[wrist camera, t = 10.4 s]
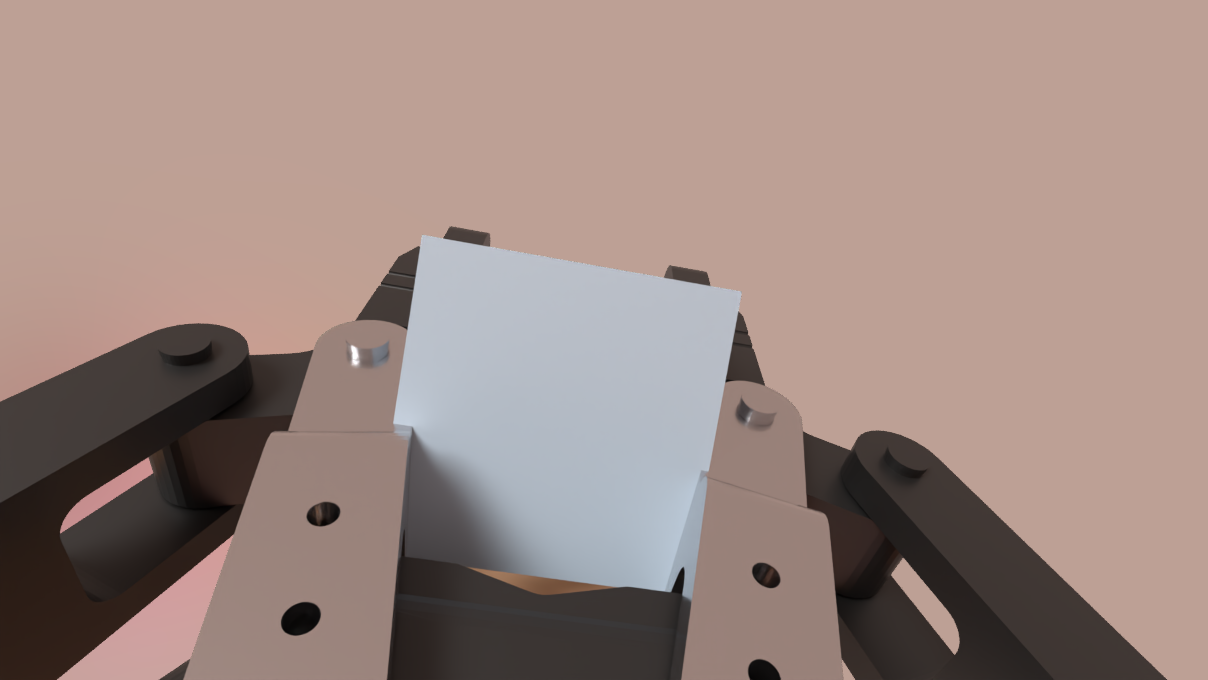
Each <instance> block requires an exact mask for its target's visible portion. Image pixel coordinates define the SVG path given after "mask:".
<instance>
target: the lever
mask: <svg viewBox="0 0 1208 680" xmlns="http://www.w3.org/2000/svg"><path fill="white" fill-rule="evenodd" d="M741 293H742V292H741V291H735V290H729V289H724V288H718V287H712V286H707V285H701V284H696V283H690V282H684V281H679V280H673V279H667V278H661V277H656V276H651V275H645V274H638V273H634V272H628V271H622V270H617V269H611V268H605V267H600V266H594V265H589V264H583V263H577V262H572V261H566V260H561V259H555V258H549V257H543V256H538V255H532V254H526V253H521V252H515V251H510V250H504V249H498V248H493V247H487V246H482V245H476V244H471V243H465V242H459V241H454V240H448V239H442V238H436V237H431V236H425V235H422V239H421V246H420V252H419V259H418V265H417V272H416V278H415V285H414V291H413V298H412V304H411V311H410V317H409V324H408V330H407V337H406V343H405V350H404V356H403V363H402V369H401V376H400V382H399V389H398V395H397V402H396V408H395V415H394V421H393V424H400V425H406V426H412V440H411V464H410V488H409V513H408V537H407V557H412V558H419V559H427V560H434V561H442V562H449V563H457V564H460V565H462V566H465V567H470V568H477V569H485V570H492V571H500V572H507V573H514V574H522V575H529V576H537V577H544V578H552V579H559V580H567V581H574V582H582V583H589V584H597V585H604V586H612V587H627V586H628V587H635V588H643V589H650V590H658V591H665V589H666V586H667V583H668V579H669V576H670V572H671V569H672V566H673V562H674V559H675V556H676V552H677V549H678V546H679V542H680V539H681V536H682V532H683V529H684V526H685V522H686V519H687V516H688V512H689V509H690V506H691V502H692V499H693V495H694V492H695V489H696V485H697V482H698V479H699V475H700V472H701V470H703V471H709V467H710V462H711V456H712V451H713V445H714V440H715V434H716V429H717V424H718V418H719V413H720V407H721V402H722V397H723V391H724V386H725V380H726V375H727V370H728V364H729V359H730V353H731V348H732V343H733V337H734V332H735V326H736V321H737V315H738V310H739V305H740V299H741Z"/></svg>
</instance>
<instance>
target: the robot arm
mask: <svg viewBox="0 0 1208 680" xmlns="http://www.w3.org/2000/svg"><path fill="white" fill-rule="evenodd" d="M443 239H448V240H454V241H459V242H465V243H471V244H476V245H482V246H487V247H490V234H489V233H485V232H479V231H473V230H468V229H463V228H457V227H452V226H451V227H450V228H449V229H448V231H447V233H446V234H445V236H444V238H443ZM419 252H420V247H419V246H418V247H416V248H414V249H412V250H411V251H409V252H407V253H405V254H403V255H401V256H399V257H398V259H397V260H396V261H395V263H394V264H393V266H392V268H391V269H390V270H389V274H387V275H386V276H385V278H384V279H383V281H382V282H381V286H378V288H377V289H376V291H375V292H374V294H373V295H372V297H371V298H370V300H369V301H368V303H367V304H366V306H365V307H364V309H363V310H362V312H361V313H360V314H359V316H358V318H357V319H356V320H355V321H352V322H347V323H344V324H340V325H338V326H335V327H333V328H331V329H329V330H328V331H326V332H325V333H324V334H322V335H321V337H320V338H319V339H318V340H317V342H316V345H315V347H314V350H311V351H307V352H301V353H292V354H270V355H249V349H248V344H247V341H246V340H245V338H244V337H243V336H242V335H241V334H240V333H238V332H236V331H235V330H233V329H230V328H227V327H224V326H220V325H213V324H199V323H198V324H184V325H177V326H172V327H167V328H164V329H160V330H157V331H155V332H152V333H150V334H147V335H145V336H143V337H141V338H138V339H136V340H134V341H132V342H130V343H127V344H125V345H123V346H121V347H119V348H117V349H114V350H112V351H110V352H108V353H106V354H103V355H101V356H99V357H97V358H95V359H93V360H90V361H88V362H86V363H84V364H82V365H79V366H77V367H75V368H73V369H71V370H69V371H66V372H64V373H62V374H60V375H58V376H55V377H53V378H51V379H49V380H47V381H45V382H42V383H40V384H38V385H36V386H34V387H31V388H29V389H27V390H25V391H23V392H21V393H19V394H16V395H14V396H12V397H10V398H7V399H5V400H3V401H1V402H0V680H57V679H58V678H59V677H61V676H62V675H63V674H64V673H65V672H67V671H68V670H69V669H70V668H71V667H73V666H74V665H75V664H76V663H78V662H79V661H80V660H81V659H83V658H84V657H85V656H86V655H87V654H89V653H90V652H91V651H92V650H94V649H95V648H96V647H97V646H98V645H99V644H101V643H102V642H103V641H104V640H106V639H107V638H108V637H109V636H110V635H112V634H113V633H114V632H115V631H116V630H118V629H119V628H120V627H122V626H123V625H124V624H125V623H126V622H128V621H129V620H130V619H131V618H132V617H134V616H135V615H136V614H137V613H139V612H140V611H141V610H142V609H143V608H145V607H146V606H147V605H148V604H150V603H151V602H152V601H153V600H154V599H156V598H157V597H158V596H159V595H160V594H162V593H163V592H164V591H165V590H167V589H168V588H169V587H170V586H171V585H173V584H174V583H175V582H176V581H177V580H179V579H180V578H181V577H182V576H184V575H185V574H186V573H187V572H188V571H190V570H191V569H192V568H193V567H194V566H196V565H197V564H198V563H199V562H201V561H202V560H203V559H204V558H206V557H207V556H208V555H209V554H210V553H211V552H213V551H214V550H215V549H216V548H218V547H219V546H220V545H221V544H222V543H224V542H225V541H226V540H227V539H229V538H230V537H231V536H232V535H234V536H233V539H232V542H231V544H230V547H229V550H228V553H227V556H226V559H225V561H224V565H223V567H222V570H221V573H220V576H219V579H218V582H217V584H216V587H215V590H214V593H213V596H212V599H211V602H210V605H209V607H208V610H207V613H206V616H205V619H204V622H203V625H202V627H201V630H200V633H199V636H198V639H197V642H196V645H195V648H194V650H193V653H192V656H191V659H189V660H188V661H187V662H185V663H183V664H182V665H180V666H179V667H178V668H176V669H175V670H173V671H171V672H170V673H168V674H167V675H166V676H164V677H163V678H161V679H160V680H843V669H842V660H843V661H844V663H845V664H846V666H847V667H848V669H849V670H850V672H851V673H852V675H853V677H854V678H855V680H1167V679H1166V678H1165V677H1164V676H1163V675H1161V673H1159V672H1158V671H1157V670H1156V669H1155V668H1154V667H1153V666H1152V665H1151V664H1150V663H1149V662H1148V661H1147V660H1146V659H1145V658H1144V657H1143V656H1142V655H1141V654H1140V653H1139V652H1138V651H1137V650H1136V649H1135V648H1134V647H1133V646H1132V645H1130V643H1129V642H1127V641H1126V640H1125V639H1124V638H1123V637H1122V636H1121V635H1120V634H1119V633H1118V632H1117V631H1116V630H1115V629H1114V628H1113V627H1112V626H1111V625H1110V624H1109V623H1108V622H1107V621H1106V620H1105V619H1104V618H1103V617H1101V615H1099V614H1098V613H1097V612H1096V611H1095V610H1094V609H1093V608H1092V607H1091V606H1090V605H1089V604H1088V603H1087V602H1086V601H1085V600H1084V599H1083V598H1082V597H1081V596H1080V595H1079V594H1078V593H1077V592H1076V591H1075V590H1074V589H1073V588H1072V587H1071V586H1069V585H1068V584H1067V583H1066V582H1065V581H1064V580H1063V579H1062V578H1061V577H1060V576H1059V575H1058V574H1057V573H1056V572H1055V571H1054V570H1053V569H1052V568H1051V567H1050V566H1049V565H1048V564H1047V563H1046V562H1045V561H1044V560H1043V559H1042V558H1041V557H1040V556H1039V555H1038V554H1036V553H1035V552H1034V551H1033V550H1032V549H1031V548H1030V547H1029V546H1028V545H1027V544H1026V543H1025V542H1024V541H1023V540H1022V539H1021V538H1020V537H1019V536H1018V535H1017V534H1016V533H1015V532H1014V531H1013V530H1012V529H1011V528H1009V526H1008V525H1006V523H1004V522H1003V521H1002V520H1001V519H1000V518H999V517H998V516H997V515H996V514H995V513H994V512H993V511H992V510H991V509H990V508H989V507H988V506H987V505H986V504H985V503H984V502H983V501H982V500H981V499H980V498H979V497H978V496H977V495H975V493H973V492H972V491H971V490H970V489H969V488H968V487H967V486H966V485H965V484H964V483H963V482H962V481H961V480H960V479H959V478H958V477H957V476H956V475H955V474H954V473H953V472H952V471H951V470H950V469H949V468H947V466H946V465H945V464H944V463H942V462H941V461H940V460H939V459H938V458H937V457H936V456H935V455H934V454H933V453H931V452H930V451H929V450H928V449H926V448H925V447H923V446H922V445H920V444H918V443H917V442H915V441H913V440H911V439H909V438H906V437H904V436H901V435H899V434H895V433H892V432H887V431H869V432H865V433H863V434H861V435H860V437H858V439H857V440H856V442H855V444H854V446H853V447H852V449H851V451H850V450H848V449H845V448H842V447H840V446H837V445H835V444H832V443H829V442H827V441H824V440H822V439H819V438H816V437H814V436H811V435H809V434H807V433H805V432H803V427H802V419H801V416H800V414H799V412H798V410H797V409H796V407H795V406H794V405H793V404H792V403H791V402H790V401H789V400H788V399H787V398H785V397H784V396H783V395H781V394H780V393H778V392H776V391H774V390H772V389H770V388H768V387H766V386H765V384H764V381H763V378H762V374H761V371H760V368H759V365H758V362H757V359H756V355H755V352H754V350H753V349H752V343H751V340H750V337H749V335H748V330H747V327H746V324H745V321H744V318H743V316H742V315H741V314H740V313H739V311H738V315H737V321H736V326H735V332H734V337H733V343H732V348H731V353H730V359H729V364H728V370H727V375H726V380H725V386H724V391H723V397H722V402H721V407H720V413H719V418H718V424H717V429H716V434H715V440H714V445H713V451H712V456H711V462H710V467H709V471H703V470H701V472H700V475H699V479H698V482H697V485H696V489H695V492H694V495H693V499H692V502H691V506H690V509H689V512H688V516H687V519H686V522H685V526H684V529H683V532H682V536H681V539H680V542H679V546H678V549H677V552H676V556H675V559H674V562H673V566H672V569H671V572H670V576H669V579H668V583H667V586H666V589H665V591H658V590H650V589H643V588H635V587H628V586H627V587H617V588H608V589H599V590H590V591H580V592H571V593H562V594H553V595H541V594H536V593H532V592H530V591H527V590H525V589H522V588H519V587H517V586H514V585H512V584H509V583H506V582H504V581H501V580H499V579H496V578H493V577H491V576H488V575H486V574H483V573H480V572H478V571H475V570H473V569H470V568H467V567H465V566H462V565H460V564H457V563H449V562H442V561H434V560H427V559H419V558H412V557H407V537H408V513H409V488H410V464H411V440H412V426H406V425H400V424H393V421H394V415H395V408H396V402H397V395H398V389H399V382H400V376H401V369H402V363H403V356H404V350H405V343H406V337H407V330H408V324H409V317H410V311H411V304H412V298H413V291H414V285H415V278H416V272H417V265H418V259H419ZM664 278H667V279H673V280H679V281H684V282H690V283H696V284H701V285H707V286H710V282H709V278H708V275H707V272H704V271H698V270H693V269H687V268H681V267H676V266H671V265H670V266H669V267H668V268H667V271H666V274H665V276H664ZM148 457H149V460H150V463H151V466H152V470H153V474H151V475H150V476H148V477H147V478H146V479H144V480H142V481H141V482H139V483H138V484H136V485H135V486H133V487H131V488H130V489H128V490H127V491H125V492H124V493H122V494H121V495H119V496H118V497H116V498H115V499H113V500H111V501H110V502H108V503H107V504H105V505H104V506H102V507H101V508H99V509H98V510H96V511H95V512H93V513H91V514H90V515H89V516H87V517H85V518H84V519H82V520H81V521H79V522H78V523H76V524H75V525H73V526H71V527H70V528H68V529H67V530H65V531H64V532H62V533H61V534H60V529H61V525H62V523H63V520H64V519H65V517H66V515H67V514H68V513H69V511H70V510H71V509H72V508H73V507H74V506H75V505H76V504H77V503H78V502H79V501H80V500H81V499H83V498H84V497H85V496H87V495H88V494H90V493H92V492H93V491H95V490H96V489H98V488H100V487H101V486H103V485H104V484H106V483H108V482H109V481H111V480H112V479H114V478H116V477H117V476H119V475H121V474H122V473H124V472H125V471H127V470H128V469H130V468H132V467H133V466H135V465H137V464H138V463H140V462H141V461H143V460H145V459H146V458H148ZM902 558H904V559H905V560H906V561H907V562H908V563H909V565H910V566H911V567H912V568H913V569H914V571H915V572H916V573H917V574H918V575H919V576H920V578H921V579H922V580H923V581H924V583H925V584H926V585H927V586H928V587H929V588H930V590H931V591H932V592H933V593H934V594H935V596H936V597H937V598H938V599H939V601H940V602H941V603H942V604H943V605H944V607H945V608H946V609H947V610H948V612H949V613H950V614H951V616H952V618H953V619H954V621H955V623H956V626H957V629H958V632H959V638H960V644H959V649H958V651H957V653H956V654H955V655H954V654H953V653H952V651H951V650H950V649H949V648H948V646H947V645H946V644H945V643H944V641H943V640H942V639H941V638H940V636H939V635H938V634H937V633H936V631H935V630H934V629H933V628H932V626H931V625H930V624H929V622H928V621H927V620H926V619H925V617H924V616H923V615H922V614H921V613H920V611H919V610H918V609H917V607H916V606H915V605H914V604H913V602H912V601H911V600H910V599H909V597H908V596H907V595H906V594H905V592H904V591H903V590H902V589H901V587H900V586H899V585H898V584H897V583H896V581H895V580H894V579H893V578H892V576H891V574H892V572H893V571H894V569H895V568H896V567H897V565H898V564H899V563H900V561H901V560H902Z"/></svg>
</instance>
